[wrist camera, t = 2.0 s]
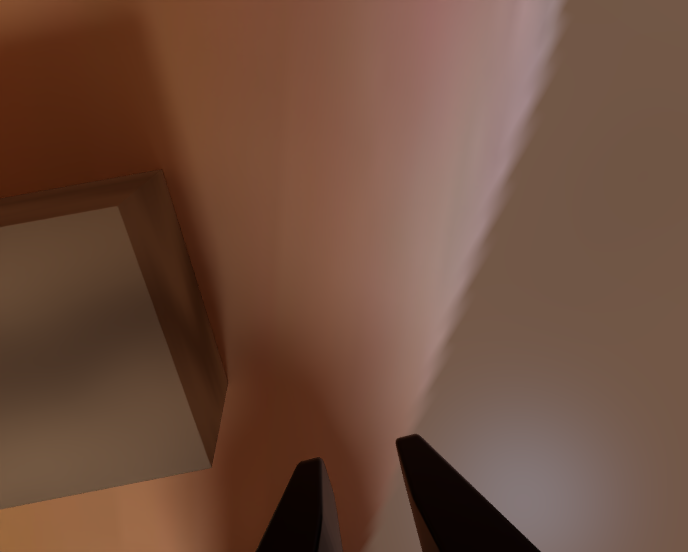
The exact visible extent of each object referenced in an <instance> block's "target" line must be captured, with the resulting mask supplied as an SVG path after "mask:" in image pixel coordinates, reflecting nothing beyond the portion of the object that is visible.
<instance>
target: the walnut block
mask: <svg viewBox="0 0 688 552" xmlns="http://www.w3.org/2000/svg"><path fill="white" fill-rule="evenodd" d="M227 386H228V381H227V377H226V374H225V371H224V368H223V365H222V361H221V358H220V355H219V352H218V348H217V345H216V342H215V339H214V336H213V332H212V329H211V326H210V323H209V319H208V316H207V313H206V310H205V307H204V303H203V300H202V297H201V294H200V290H199V287H198V284H197V281H196V278H195V274H194V271H193V268H192V265H191V261H190V258H189V255H188V252H187V249H186V245H185V242H184V239H183V236H182V232H181V229H180V226H179V223H178V220H177V216H176V213H175V210H174V207H173V203H172V200H171V197H170V194H169V191H168V187H167V184H166V181H165V178H164V174H163V171H162V169H161V170H155V171H150V172H144V173H139V174H133V175H128V176H122V177H116V178H111V179H105V180H100V181H94V182H89V183H83V184H78V185H72V186H66V187H61V188H55V189H50V190H44V191H39V192H33V193H28V194H22V195H16V196H11V197H5V198H0V509H5V508H10V507H15V506H20V505H25V504H30V503H36V502H41V501H46V500H51V499H56V498H61V497H66V496H71V495H76V494H81V493H86V492H92V491H97V490H102V489H107V488H112V487H117V486H122V485H127V484H132V483H137V482H142V481H148V480H153V479H158V478H163V477H168V476H173V475H178V474H183V473H188V472H193V471H198V470H204V469H209V468H212V463H213V458H214V452H215V447H216V442H217V437H218V432H219V427H220V422H221V417H222V412H223V407H224V402H225V396H226V391H227Z"/></svg>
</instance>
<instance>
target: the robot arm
mask: <svg viewBox="0 0 688 552" xmlns="http://www.w3.org/2000/svg"><path fill="white" fill-rule="evenodd" d="M396 448H397V452H398V456H399V461H400V465H401V470H402V474H403V478H404V482H405V486H406V490H407V494H408V498H409V502H410V506H411V509H412V513H413V517H414V521H415V525H416V528H417V533H418V536H419V540H420V544H421V548H422V552H541V551H540V550H539V549H537V548H536V547H535V546H534V545H533V544H532V543H531V542H530V541H529V540H528V539H527V538H526V537H525V536H524V535H523V534H522V533H521V532H520V531H519V530H518V529H516V527H515V526H514V525H512V524H511V523H510V522H509V521H508V520H507V519H506V518H505V517H504V516H503V515H502V514H501V513H500V512H499V511H498V510H497V509H496V508H495V507H494V506H493V505H492V504H491V503H489V501H488V500H486V499H485V498H484V497H483V496H482V495H481V494H480V493H479V492H478V491H477V490H476V489H475V488H474V487H473V486H472V485H471V484H470V483H469V482H468V481H467V480H466V479H465V478H464V477H463V476H462V475H460V474H459V473H458V472H457V471H456V470H455V469H454V468H453V467H452V466H451V465H450V464H449V463H448V462H447V461H446V460H445V459H444V458H443V457H442V456H441V455H439V454H438V453H437V452H436V451H435V450H434V449H433V448H432V447H431V446H430V445H429V444H428V443H427V442H426V441H425V440H424V439H423V438H422V437H421V436H420V435H418V434H413V435H409V436H404V437H400V438H397V440H396ZM256 552H343V549H342V543H341V536H340V530H339V523H338V516H337V510H336V503H335V498H334V494H333V490H332V487H331V484H330V480H329V477H328V474H327V471H326V468H325V464H324V462H323V460H322V459H321V458H319V457H318V458H313V459H309V460H305V461H301V462H300V463H299V464H298V465H297V467H296V469H295V471H294V473H293V475H292V477H291V479H290V481H289V483H288V485H287V487H286V489H285V492H284V494H283V496H282V498H281V500H280V502H279V504H278V506H277V508H276V510H275V512H274V514H273V517H272V519H271V521H270V523H269V525H268V527H267V529H266V531H265V533H264V535H263V537H262V539H261V542H260V544H259V546H258V548H257V550H256Z"/></svg>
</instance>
